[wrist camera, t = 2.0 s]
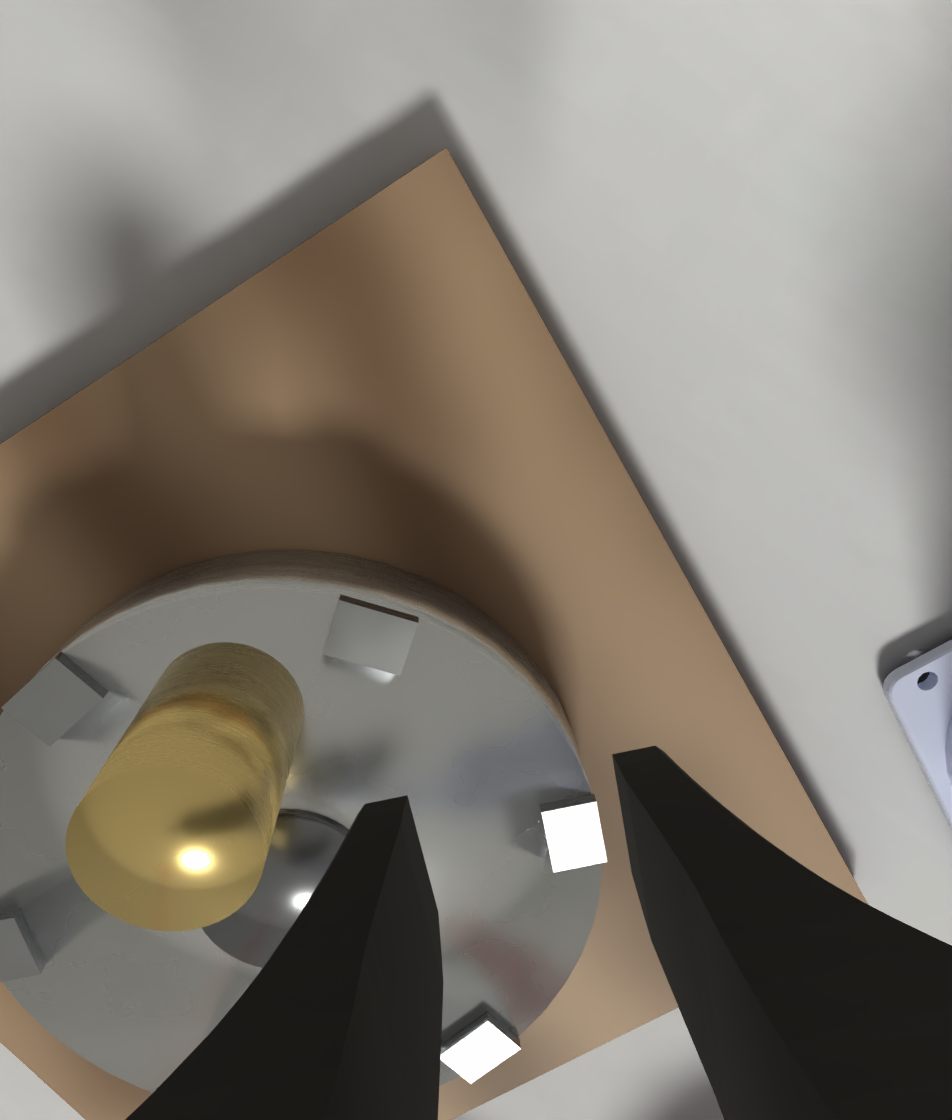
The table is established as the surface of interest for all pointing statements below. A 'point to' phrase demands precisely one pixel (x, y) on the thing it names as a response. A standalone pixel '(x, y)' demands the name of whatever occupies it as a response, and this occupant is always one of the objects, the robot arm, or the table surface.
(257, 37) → the table surface
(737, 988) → the robot arm
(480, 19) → the table surface
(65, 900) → the round metal turntable
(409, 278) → the base plate
